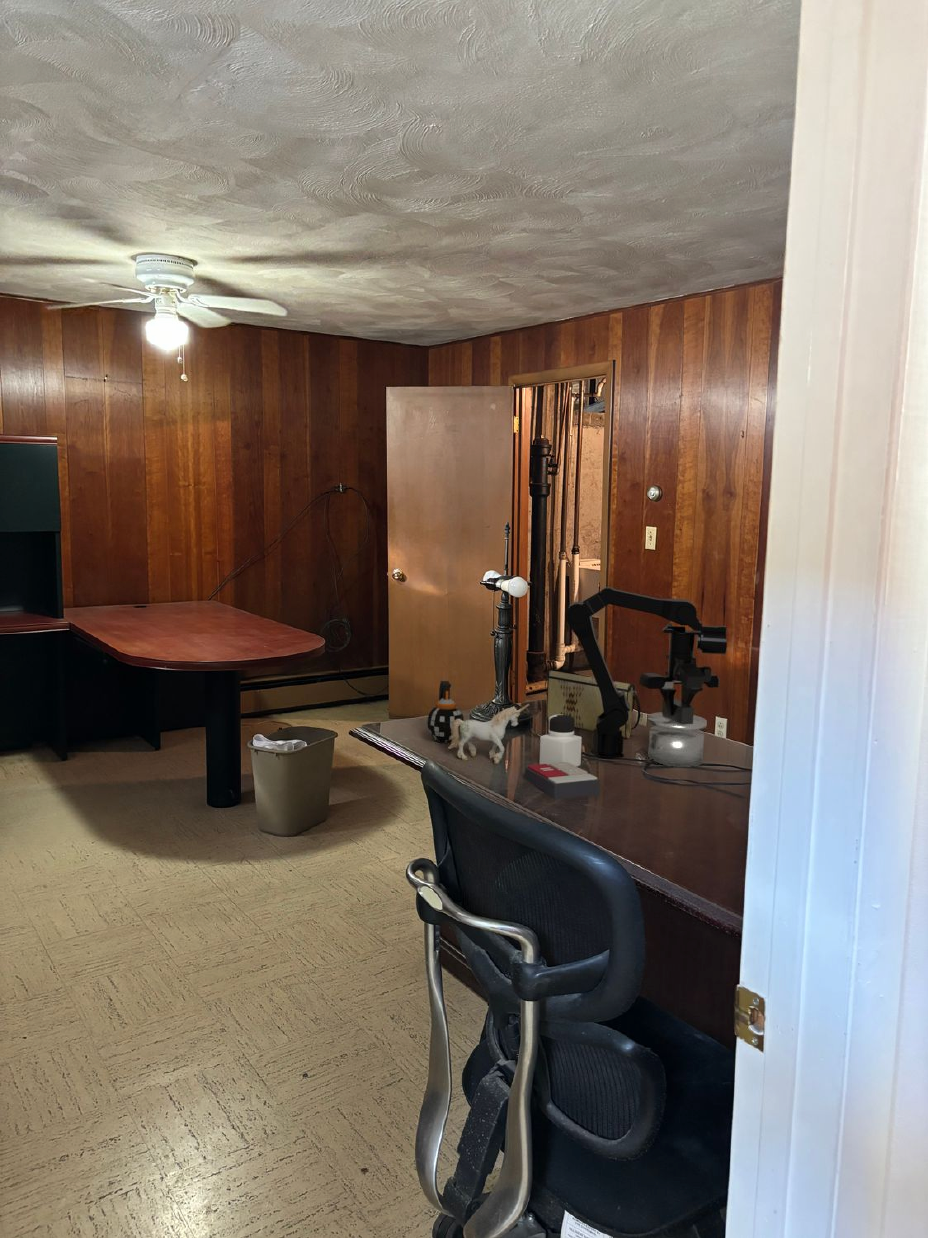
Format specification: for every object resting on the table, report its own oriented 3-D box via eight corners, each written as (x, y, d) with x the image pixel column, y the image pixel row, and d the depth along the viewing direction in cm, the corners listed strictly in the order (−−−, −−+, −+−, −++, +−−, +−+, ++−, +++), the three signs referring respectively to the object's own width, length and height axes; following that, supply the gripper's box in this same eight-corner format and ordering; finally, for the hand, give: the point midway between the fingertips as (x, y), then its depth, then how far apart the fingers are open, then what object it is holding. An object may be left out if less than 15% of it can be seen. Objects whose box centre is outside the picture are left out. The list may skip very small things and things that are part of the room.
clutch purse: (644, 736, 240) (647, 682, 238) (631, 741, 235) (634, 685, 233) (552, 717, 259) (554, 666, 257) (538, 721, 253) (540, 669, 251)
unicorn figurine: (529, 766, 210) (531, 710, 208) (446, 764, 210) (448, 708, 208) (527, 757, 217) (529, 703, 215) (447, 755, 217) (448, 701, 215)
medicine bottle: (581, 765, 211) (583, 716, 210) (562, 772, 206) (565, 721, 205) (556, 759, 216) (558, 711, 215) (538, 765, 211) (540, 715, 209)
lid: (717, 729, 212) (719, 708, 212) (663, 731, 209) (665, 710, 208) (689, 715, 226) (690, 695, 225) (638, 716, 222) (639, 697, 222)
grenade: (423, 734, 235) (425, 679, 233) (459, 734, 237) (460, 678, 235) (429, 746, 224) (430, 688, 222) (466, 745, 226) (468, 687, 224)
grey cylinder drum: (662, 768, 211) (664, 739, 210) (639, 753, 223) (640, 726, 222) (712, 766, 214) (714, 737, 213) (686, 751, 226) (687, 724, 225)
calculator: (568, 760, 204) (600, 776, 190) (567, 778, 205) (600, 796, 191) (524, 764, 200) (554, 780, 186) (524, 782, 201) (554, 800, 187)
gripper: (661, 658, 205) (657, 724, 207) (733, 657, 210) (729, 722, 212) (640, 650, 216) (636, 713, 218) (709, 649, 220) (705, 711, 222)
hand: (677, 715), depth 217 cm, fingers closed on lid, 3 cm apart
